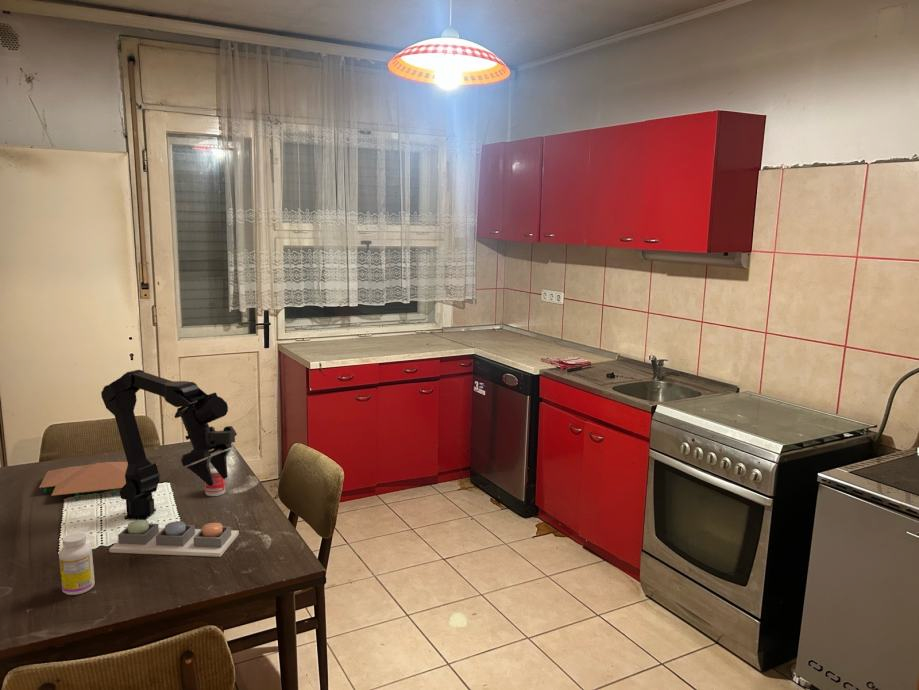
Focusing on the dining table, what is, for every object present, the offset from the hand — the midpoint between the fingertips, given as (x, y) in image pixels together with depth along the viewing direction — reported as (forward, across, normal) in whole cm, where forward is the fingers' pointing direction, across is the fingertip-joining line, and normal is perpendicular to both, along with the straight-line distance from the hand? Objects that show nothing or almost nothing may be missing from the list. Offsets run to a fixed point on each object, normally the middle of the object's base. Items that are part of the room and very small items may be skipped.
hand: (218, 481), depth 183 cm
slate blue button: (+8, -3, +15) cm, 17 cm away
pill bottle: (+4, +31, +17) cm, 36 cm away
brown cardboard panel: (-11, +33, +52) cm, 63 cm away
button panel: (+11, -2, +16) cm, 19 cm away
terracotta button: (+12, -3, +6) cm, 14 cm away
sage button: (+4, -3, +24) cm, 25 cm away
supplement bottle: (+10, -26, +28) cm, 40 cm away
